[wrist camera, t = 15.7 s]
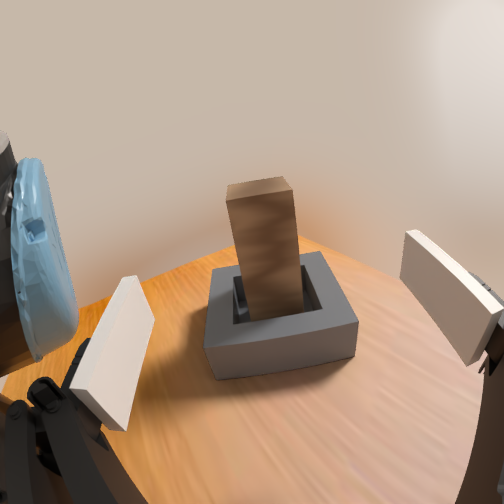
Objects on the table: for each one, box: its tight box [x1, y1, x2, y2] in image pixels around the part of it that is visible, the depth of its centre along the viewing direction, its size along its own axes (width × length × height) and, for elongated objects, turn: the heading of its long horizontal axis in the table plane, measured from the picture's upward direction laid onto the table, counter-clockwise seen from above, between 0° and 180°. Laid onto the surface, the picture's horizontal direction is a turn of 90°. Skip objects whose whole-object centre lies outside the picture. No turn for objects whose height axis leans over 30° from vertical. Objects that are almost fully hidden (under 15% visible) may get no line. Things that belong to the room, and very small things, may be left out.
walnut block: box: [226, 177, 304, 322], centre depth 26 cm, size 5×5×14 cm
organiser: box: [203, 251, 359, 380], centre depth 29 cm, size 13×13×4 cm
